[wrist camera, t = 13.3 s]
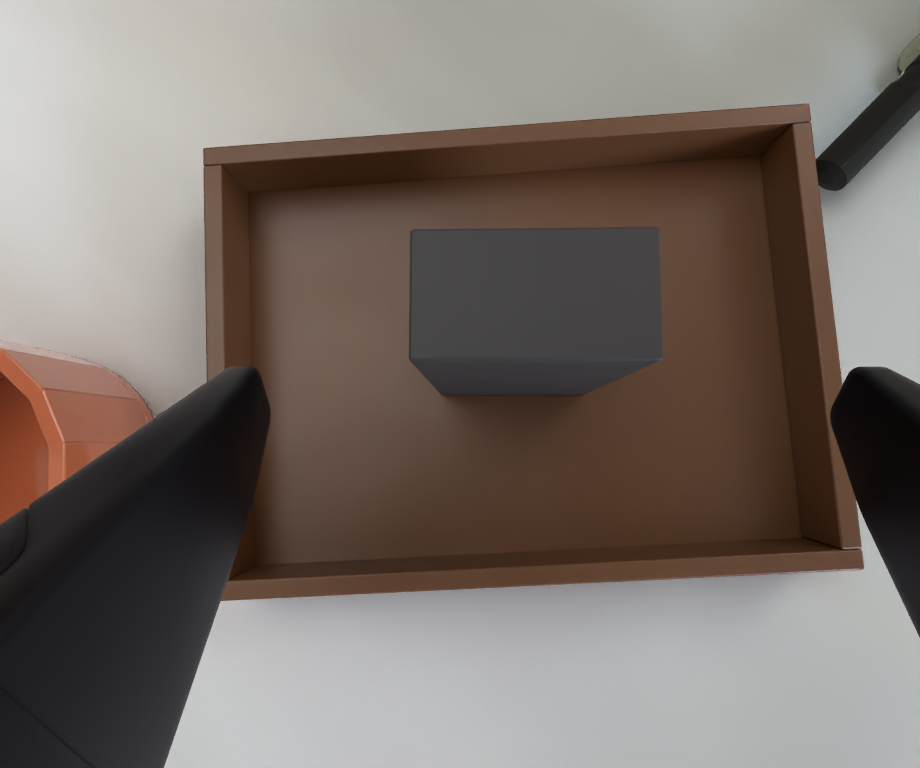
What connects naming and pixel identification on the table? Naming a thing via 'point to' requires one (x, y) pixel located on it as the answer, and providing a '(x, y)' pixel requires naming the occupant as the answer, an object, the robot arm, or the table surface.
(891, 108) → the handheld radio
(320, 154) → the tray
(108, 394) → the holder cup
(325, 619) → the table surface
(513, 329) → the dark grey block
